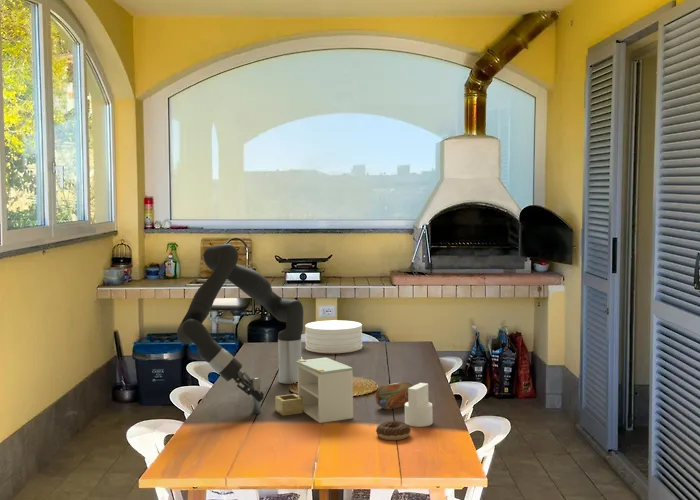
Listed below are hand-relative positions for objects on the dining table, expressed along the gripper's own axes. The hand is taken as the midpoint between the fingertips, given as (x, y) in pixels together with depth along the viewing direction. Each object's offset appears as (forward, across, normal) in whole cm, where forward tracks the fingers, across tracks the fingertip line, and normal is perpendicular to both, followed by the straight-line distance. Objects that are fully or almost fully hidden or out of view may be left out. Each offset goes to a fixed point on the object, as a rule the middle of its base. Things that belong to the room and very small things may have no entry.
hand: (261, 398), depth 259 cm
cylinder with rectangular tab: (+40, -18, -33) cm, 55 cm away
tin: (+37, +2, -29) cm, 47 cm away
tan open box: (+10, 0, -3) cm, 10 cm away
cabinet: (+19, -3, -12) cm, 22 cm away
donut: (+33, -31, -25) cm, 52 cm away
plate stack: (+26, +112, -18) cm, 116 cm away
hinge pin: (+2, 0, +5) cm, 5 cm away
